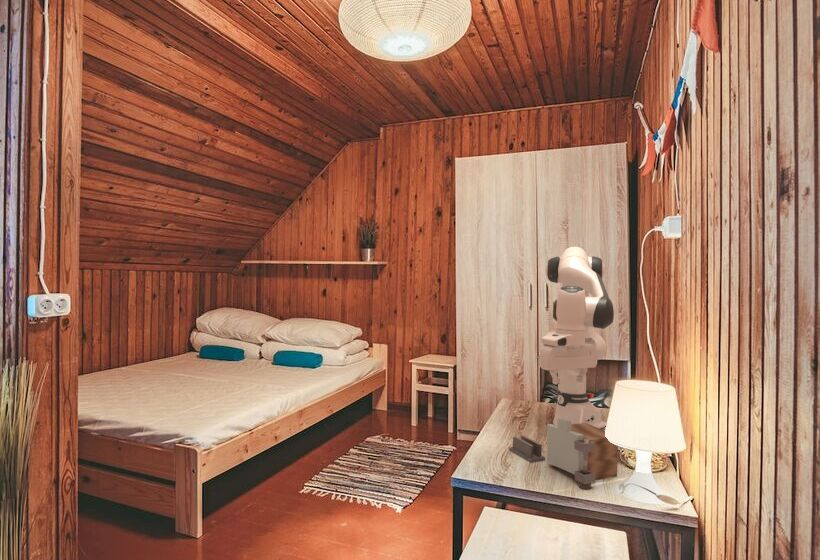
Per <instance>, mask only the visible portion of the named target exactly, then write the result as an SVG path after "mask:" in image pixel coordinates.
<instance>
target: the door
mask: <svg viewBox="0 0 820 560" xmlns="http://www.w3.org/2000/svg"><path fill="white" fill-rule="evenodd" d="M546 432H547V433H546V434H547V435H546V439H547V440H546V442H547V443H546V444H547V445H546V446H547V448H546V449H547V454H546V455H547V458H546V460H547V461H546V462H547V463H548V464H550V465H552V466H555V467H556V468H559V469H561V470H564V471H566V472H568V473H570V474H572V475H574V481H577V482H578V481H579V482H581V483H583V484H589V483H591V484H594V483H596V480H595V473H592V472H590V471H588V470H587V474H586V475H584V474H583V460H584V455H583V453H587V452H593V451H595V443H594V442H591V441H589V443H584V439H583V435H582V434H579V433H576V432H574V431H572V426H571V421H570V420H567V419H563V418H560V419H558V426H556V425H554V424H551V423H550V424H547V425H546Z"/></svg>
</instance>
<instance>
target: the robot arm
mask: <svg viewBox="0 0 820 560" xmlns="http://www.w3.org/2000/svg"><path fill="white" fill-rule="evenodd" d="M605 269H606V267H605V265H604V262H603V260H602V259H601V258H600V257H598V256H588V255H587V252H586V251H585V250H584V249H583V248H582V247H579V246H570V247H568V248H566V249H565V250H564V251H563V252H562V254H561V256H554V257H551V258H549V259H548V260H547V263H546V266H545V275H546V277H547V280H548V281H550V282H551V283H555V284H558V283H561V287H560V288H558V289H559V290H558V294H557V299H555V300H554V301H553V302H552V304H553V305H552V318H553V319H554V321H556V325H555V330H551V331H547V332H546V333H545V334H544V335H543V336H542V337H541V343H542V345H541V347H540V351H539V361H538V362H539V367H540V368H541V369H542V370H545V371H549V373H550V375H551V379H552V384H553V385H557V390H556V407H555V411H554V412H555V413H554V418H553V420H552V423H553V425H556V426H558V419H560V418H563V419H567V420H570V421H571V425H572V424H580V423H587V424H590V425H592V426H595V427H597V428H599V429H604V428H606V427H605V425H606V422H605V421H603V420H602V412H601V411H600V409H599V408H598V407H596V406H595V405H594V404H593V403H592V402H591V401H590V399H594V393H592V392H587V372H588V369H591V368H596V367H597V364H598V361H599V360H601V359H602V358H603V357H604V356H605V355H606V352H607V343H606V341H605V339H604V338H603V336H601V335H600V334H599V333H598V332H597V331H596V330H595V329H606V328H608V327H609V326H610V325H612V324H613V322H614V319H615V315H616V314H615V308H614V304H613V301H612V300H611V299H610V296H609V295H608V291H607V289H606V287H605V284H604V281H603V277H604V276H605V272H606V271H605ZM589 295H592V296H589ZM589 398H590V399H589Z"/></svg>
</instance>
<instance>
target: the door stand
mask: <svg viewBox="0 0 820 560" xmlns="http://www.w3.org/2000/svg"><path fill="white" fill-rule="evenodd" d="M542 446H543V445H542V443H539V442H538V441H535V440H534V439H532V438H530V437H528V436H526V435H523V434H521V435H520V437H518V436H516V435H513V436H512V446H508V450H509V452H512V453H513V454H515V455H516V456H518V457H520V458H522V459H524V460H525V461H527V462H529V463H531V464H532V463H537V462H543V461H546V457H545V456H543V455H542V451H543V450H542Z"/></svg>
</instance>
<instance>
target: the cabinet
mask: <svg viewBox="0 0 820 560" xmlns="http://www.w3.org/2000/svg"><path fill="white" fill-rule="evenodd" d="M571 426H572V431H574V432H576V433H579V434H582V435H583V439H584V443H589V441H591V442H594V443H595V451H593V452H587V453H583V455H584V460H583V474H584V475H586V474H587V470H588V471H590V472H592V473H595V481H600V480H605V479H610V478H616V477H617V476H618V460H619V459H618V457H619V456H618V455H619V448H618V446H616V445H614V444H612V443H610V442H609V441H608V439H607V438H606V437H605V431H606V430H604V429H603V428H597V427H595V426H592V425H590V424H587V423H580V424H572V425H571ZM577 484H578V487H579V488H580V489H582V490H591V489H592V483H589V484H583V483H581V482H579V481H577Z"/></svg>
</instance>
